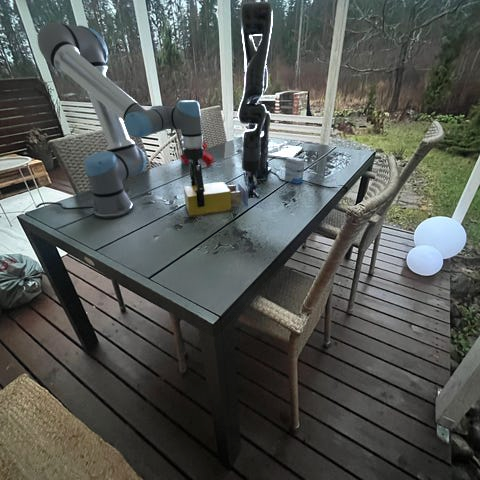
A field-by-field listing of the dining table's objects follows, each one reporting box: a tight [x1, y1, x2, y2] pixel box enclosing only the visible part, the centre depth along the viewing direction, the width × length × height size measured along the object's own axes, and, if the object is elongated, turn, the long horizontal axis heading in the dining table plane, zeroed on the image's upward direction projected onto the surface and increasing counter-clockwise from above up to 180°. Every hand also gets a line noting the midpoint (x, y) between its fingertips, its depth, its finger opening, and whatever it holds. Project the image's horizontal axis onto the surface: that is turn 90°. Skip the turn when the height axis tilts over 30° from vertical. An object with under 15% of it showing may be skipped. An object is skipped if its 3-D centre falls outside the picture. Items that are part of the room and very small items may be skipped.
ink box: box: [284, 156, 306, 185], centre depth 140 cm, size 8×5×12 cm, turn 47°
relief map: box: [268, 138, 304, 160], centre depth 192 cm, size 27×35×5 cm
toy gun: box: [180, 139, 215, 167], centre depth 167 cm, size 18×4×15 cm
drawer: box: [226, 182, 260, 207], centre depth 117 cm, size 22×10×7 cm, turn 108°
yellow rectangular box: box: [183, 181, 232, 218], centre depth 114 cm, size 17×11×9 cm, turn 108°
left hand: (198, 200), depth 113 cm, fingers closed on yellow rectangular box, 11 cm apart
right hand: (250, 197), depth 120 cm, fingers closed
